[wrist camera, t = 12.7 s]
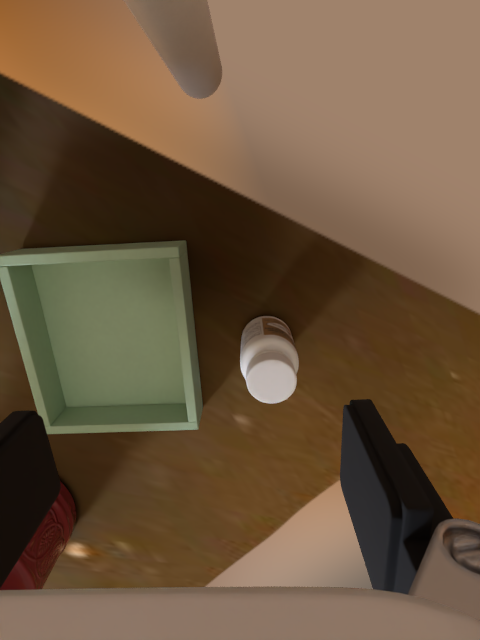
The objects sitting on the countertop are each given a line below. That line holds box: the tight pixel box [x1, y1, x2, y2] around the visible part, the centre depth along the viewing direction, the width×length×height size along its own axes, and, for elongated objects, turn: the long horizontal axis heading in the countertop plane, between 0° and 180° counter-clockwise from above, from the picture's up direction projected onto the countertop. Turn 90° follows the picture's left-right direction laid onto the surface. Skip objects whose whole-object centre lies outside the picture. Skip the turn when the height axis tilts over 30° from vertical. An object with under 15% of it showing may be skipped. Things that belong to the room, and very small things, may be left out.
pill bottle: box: [240, 316, 299, 403], centre depth 28 cm, size 4×4×8 cm
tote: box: [0, 240, 203, 434], centre depth 30 cm, size 16×14×3 cm
